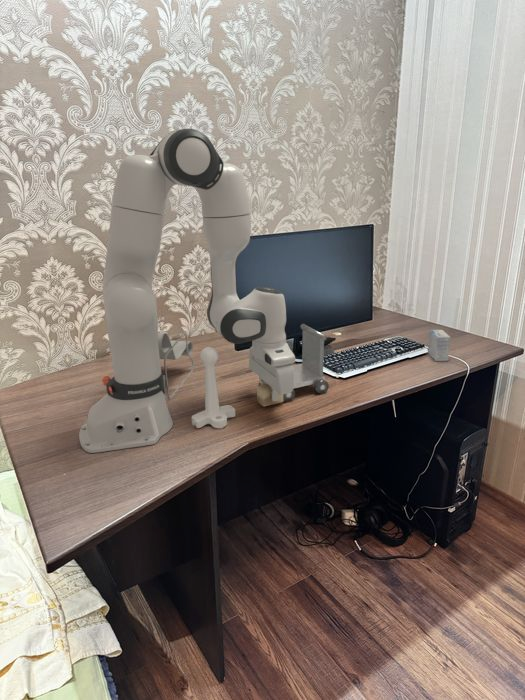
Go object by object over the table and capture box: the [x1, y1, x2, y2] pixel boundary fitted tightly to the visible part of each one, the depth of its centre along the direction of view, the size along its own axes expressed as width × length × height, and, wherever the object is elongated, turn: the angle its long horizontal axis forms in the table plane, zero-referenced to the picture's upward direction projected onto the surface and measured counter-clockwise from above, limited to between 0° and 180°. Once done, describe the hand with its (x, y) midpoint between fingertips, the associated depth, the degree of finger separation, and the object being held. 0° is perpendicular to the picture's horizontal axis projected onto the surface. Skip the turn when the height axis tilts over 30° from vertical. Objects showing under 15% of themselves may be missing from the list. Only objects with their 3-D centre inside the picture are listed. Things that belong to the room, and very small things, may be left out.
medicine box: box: [427, 329, 451, 362], centre depth 156 cm, size 8×4×9 cm, turn 179°
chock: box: [256, 384, 284, 407], centre depth 126 cm, size 6×4×4 cm, turn 115°
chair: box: [158, 331, 195, 400], centre depth 139 cm, size 13×25×20 cm, turn 170°
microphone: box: [324, 336, 337, 346], centre depth 170 cm, size 6×6×20 cm
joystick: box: [191, 346, 236, 429], centre depth 115 cm, size 11×8×20 cm
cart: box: [283, 323, 330, 403], centre depth 134 cm, size 15×15×17 cm
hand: (269, 395), depth 126 cm, fingers closed on chock, 4 cm apart
